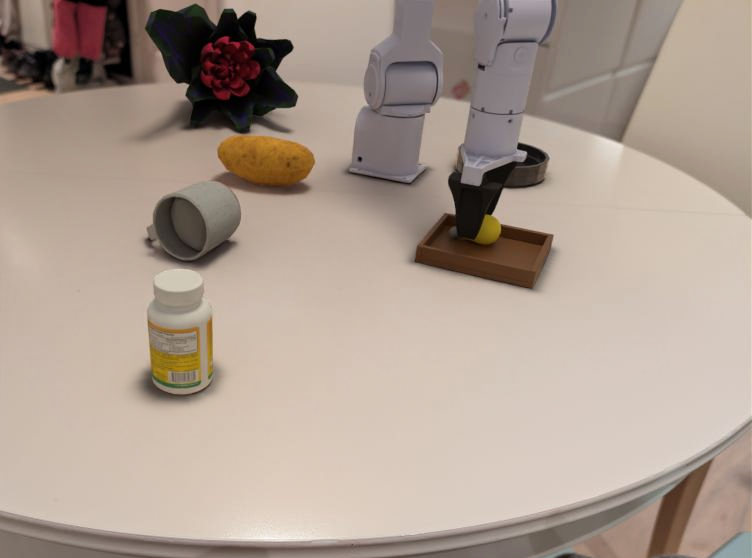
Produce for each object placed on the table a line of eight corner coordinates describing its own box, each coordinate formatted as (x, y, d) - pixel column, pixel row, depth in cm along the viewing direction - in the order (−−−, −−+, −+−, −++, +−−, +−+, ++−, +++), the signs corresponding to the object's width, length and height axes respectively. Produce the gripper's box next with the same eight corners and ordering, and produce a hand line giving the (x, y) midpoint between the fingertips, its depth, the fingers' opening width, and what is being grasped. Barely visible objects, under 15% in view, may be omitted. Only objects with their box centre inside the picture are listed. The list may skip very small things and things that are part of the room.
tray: (414, 261, 85) (416, 245, 84) (442, 227, 93) (444, 212, 92) (531, 288, 80) (535, 272, 79) (550, 250, 88) (554, 234, 87)
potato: (298, 200, 99) (301, 150, 96) (209, 183, 104) (208, 134, 100) (320, 182, 105) (323, 135, 101) (235, 166, 110) (234, 120, 106)
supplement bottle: (182, 404, 61) (176, 303, 56) (138, 379, 64) (129, 280, 59) (226, 376, 65) (225, 278, 59) (183, 354, 68) (178, 258, 62)
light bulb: (501, 249, 86) (496, 225, 84) (450, 253, 89) (444, 230, 87) (505, 231, 88) (500, 207, 86) (454, 235, 91) (449, 212, 89)
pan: (444, 177, 108) (447, 157, 107) (467, 153, 118) (471, 134, 116) (535, 194, 103) (540, 173, 102) (551, 167, 113) (556, 148, 111)
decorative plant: (261, 156, 143) (279, 166, 114) (133, 98, 137) (119, 94, 109) (305, 50, 137) (336, 33, 109) (174, -15, 132) (170, -50, 103)
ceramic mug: (246, 241, 88) (245, 178, 84) (209, 268, 82) (206, 201, 78) (172, 224, 92) (167, 163, 88) (132, 248, 86) (125, 184, 82)
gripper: (521, 130, 73) (494, 256, 80) (547, 97, 84) (522, 211, 91) (450, 119, 75) (431, 242, 83) (485, 89, 86) (465, 200, 94)
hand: (474, 225), depth 87 cm, fingers open, 7 cm apart
